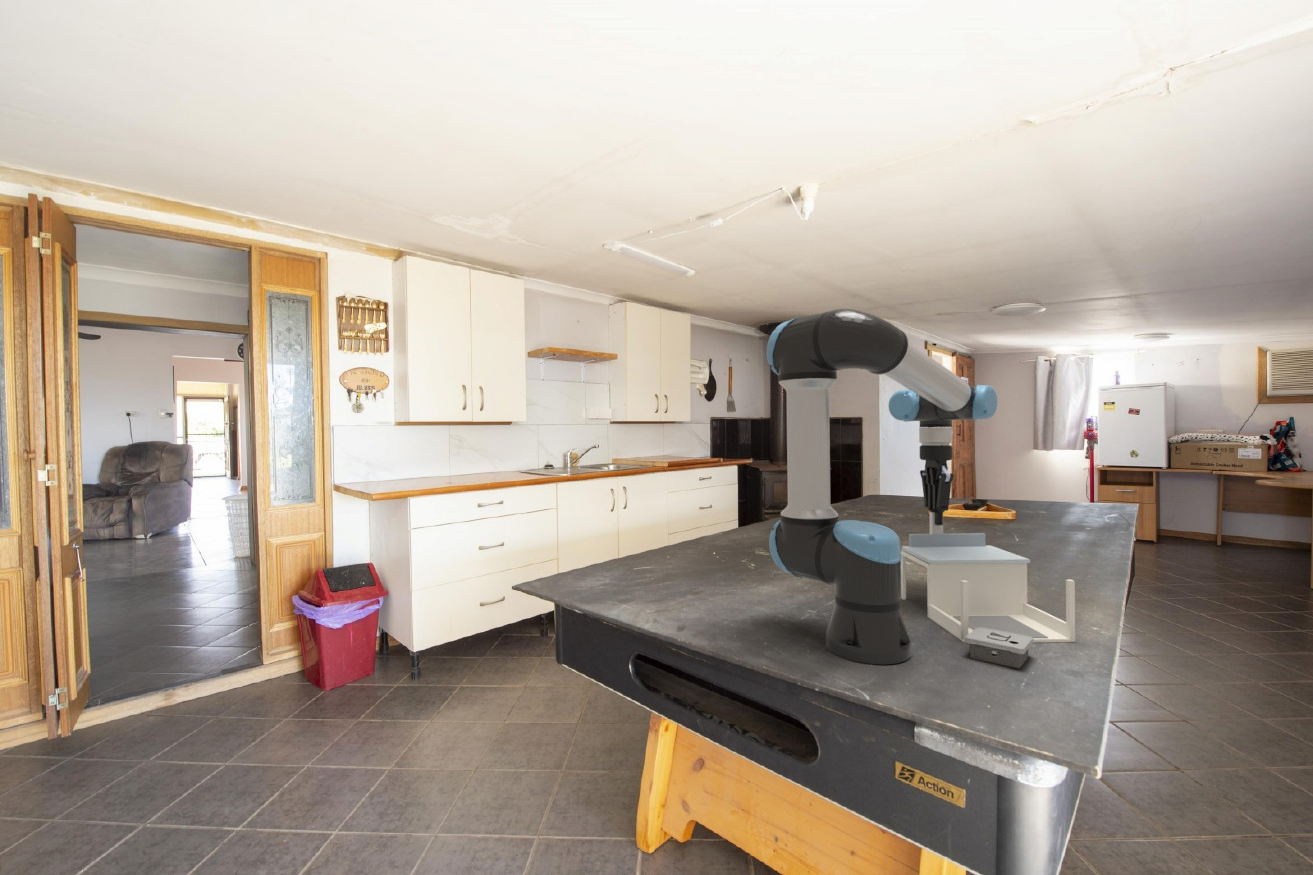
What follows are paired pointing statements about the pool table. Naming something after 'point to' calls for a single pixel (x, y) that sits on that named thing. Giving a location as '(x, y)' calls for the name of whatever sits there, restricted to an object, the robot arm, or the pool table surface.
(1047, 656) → the pool table surface
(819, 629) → the pool table surface
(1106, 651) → the pool table surface
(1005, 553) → the lid
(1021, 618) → the housing
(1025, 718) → the pool table surface
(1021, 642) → the gray toolbox
